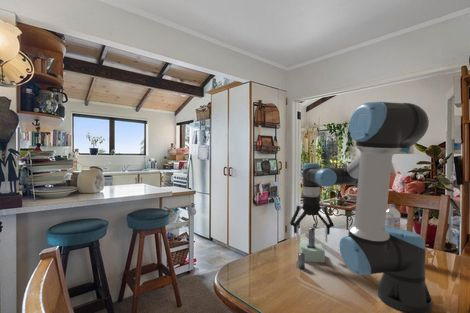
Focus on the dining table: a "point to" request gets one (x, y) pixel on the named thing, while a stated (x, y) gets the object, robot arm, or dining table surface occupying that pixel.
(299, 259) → the short pin
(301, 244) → the hole block
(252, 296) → the dining table surface
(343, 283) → the dining table surface
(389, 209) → the water bottle
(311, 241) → the long pin
